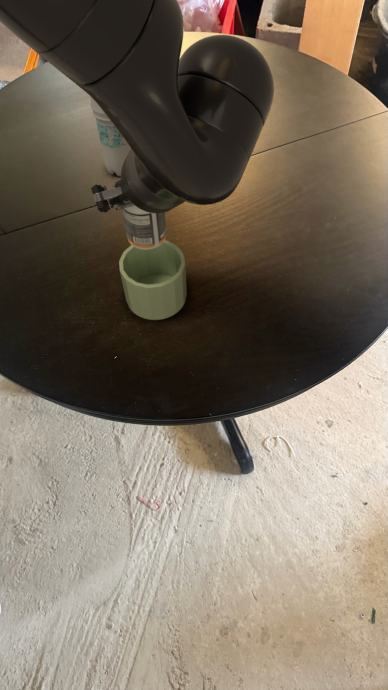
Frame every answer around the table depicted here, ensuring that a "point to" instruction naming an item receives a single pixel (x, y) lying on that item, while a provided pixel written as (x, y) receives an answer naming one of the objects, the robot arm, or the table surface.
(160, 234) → the pill bottle
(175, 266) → the green cup
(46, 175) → the table surface
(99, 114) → the bottle
